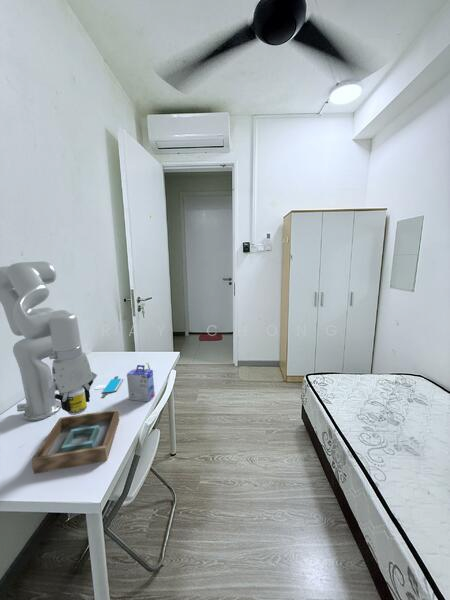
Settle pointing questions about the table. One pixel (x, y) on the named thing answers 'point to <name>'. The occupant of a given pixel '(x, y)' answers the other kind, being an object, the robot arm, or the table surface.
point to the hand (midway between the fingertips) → (76, 405)
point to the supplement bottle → (77, 401)
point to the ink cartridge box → (140, 384)
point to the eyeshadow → (148, 366)
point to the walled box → (77, 441)
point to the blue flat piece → (110, 386)
